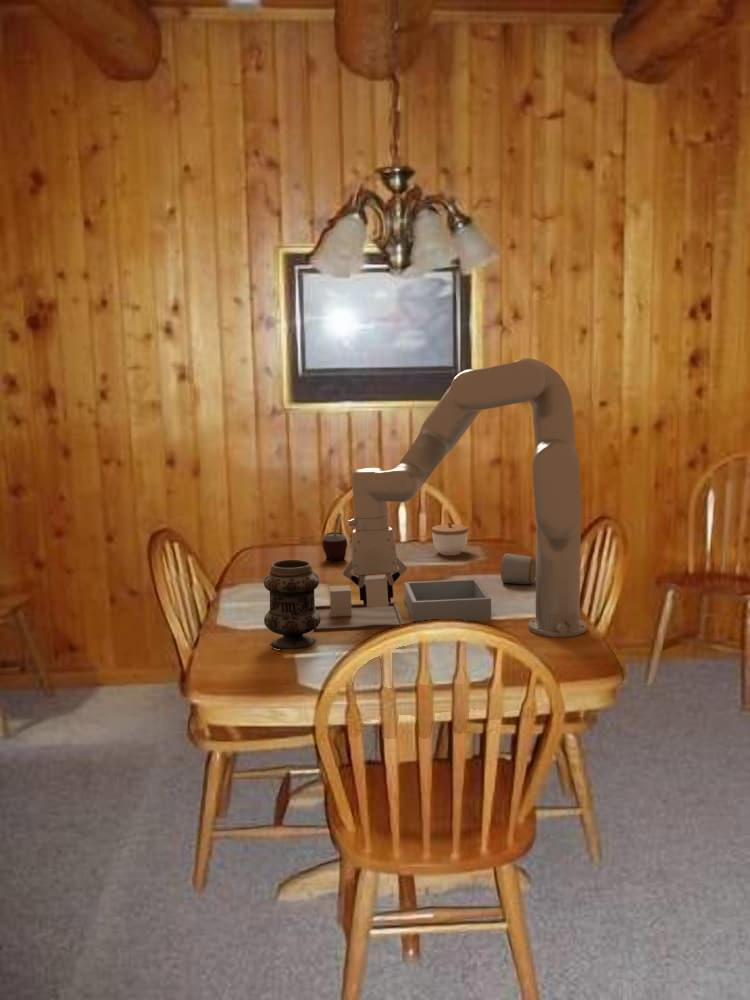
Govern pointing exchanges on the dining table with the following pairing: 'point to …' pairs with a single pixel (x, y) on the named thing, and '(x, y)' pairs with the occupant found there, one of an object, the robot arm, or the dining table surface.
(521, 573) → the ceramic mug
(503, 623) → the dining table surface
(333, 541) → the mate gourd
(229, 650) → the dining table surface
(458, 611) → the tub
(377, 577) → the beige block
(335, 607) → the stone
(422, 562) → the dining table surface
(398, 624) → the walnut tray
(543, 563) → the robot arm
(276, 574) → the apothecary jar
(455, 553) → the lidded jar
